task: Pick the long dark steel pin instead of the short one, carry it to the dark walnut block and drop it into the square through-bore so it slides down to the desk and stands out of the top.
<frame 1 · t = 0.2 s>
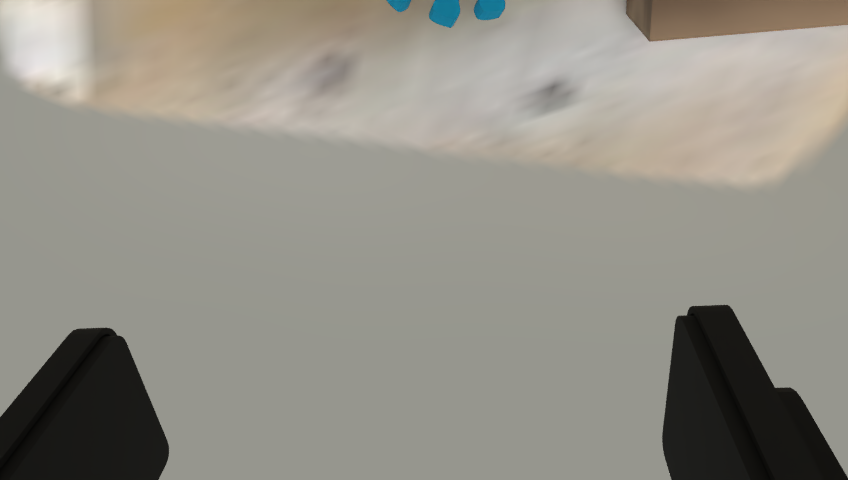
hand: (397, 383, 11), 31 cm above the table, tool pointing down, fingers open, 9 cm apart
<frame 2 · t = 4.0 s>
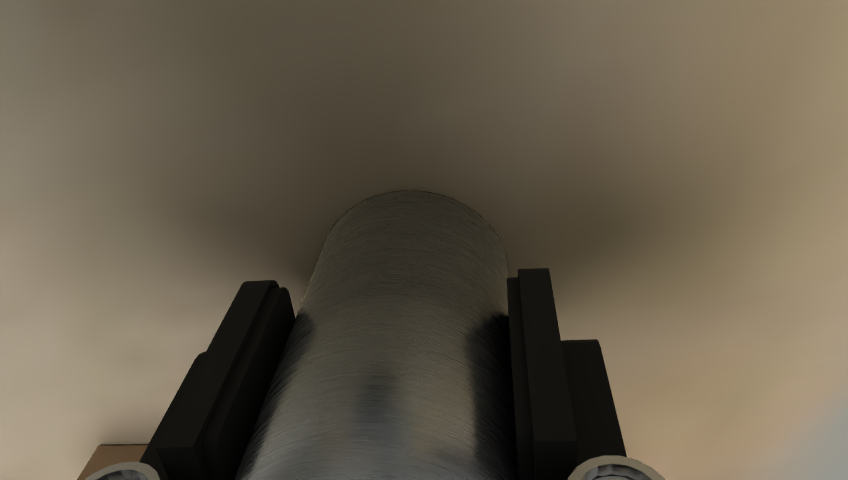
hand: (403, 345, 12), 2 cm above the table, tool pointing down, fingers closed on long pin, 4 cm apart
long pin: (413, 274, 14), on the table, touching gripper
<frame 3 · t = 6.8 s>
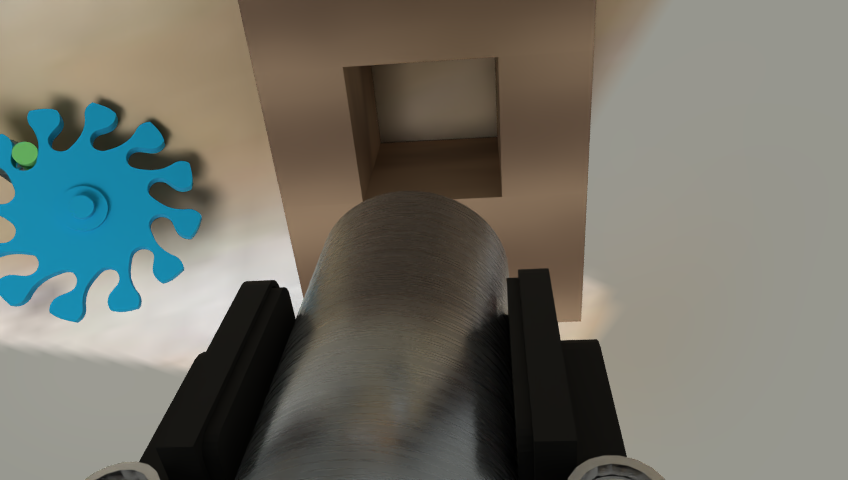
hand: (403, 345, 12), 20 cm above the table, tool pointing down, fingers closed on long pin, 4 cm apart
hole block: (434, 83, 30), on the table
gear: (114, 167, 34), on the table
long pin: (414, 274, 14), point 17 cm above the table, touching gripper
when the fingers open (8 cm above the table, at t = 9.9 s): long pin drops 5 cm, resting in hole block.
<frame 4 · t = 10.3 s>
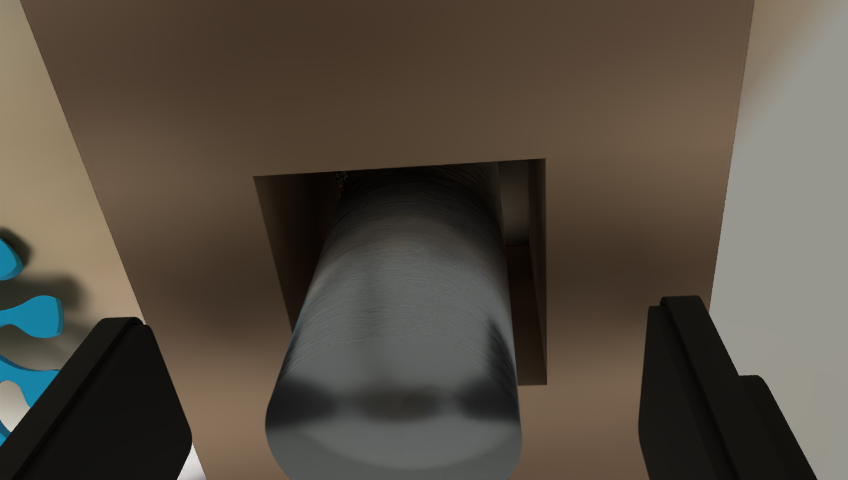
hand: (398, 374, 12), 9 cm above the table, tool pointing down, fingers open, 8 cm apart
hole block: (429, 167, 19), on the table
long pin: (426, 166, 19), resting in hole block
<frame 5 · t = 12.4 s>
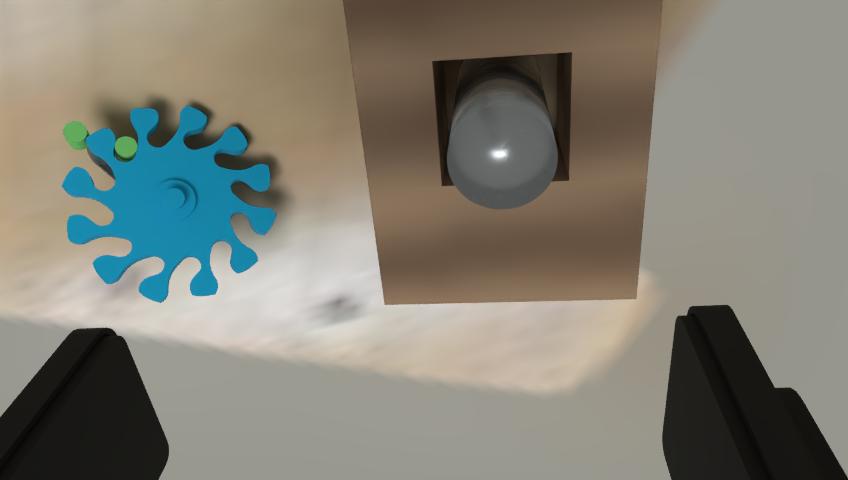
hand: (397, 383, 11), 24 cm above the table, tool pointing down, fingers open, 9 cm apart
hole block: (500, 81, 33), on the table
gear: (194, 165, 37), on the table
long pin: (498, 81, 33), resting in hole block
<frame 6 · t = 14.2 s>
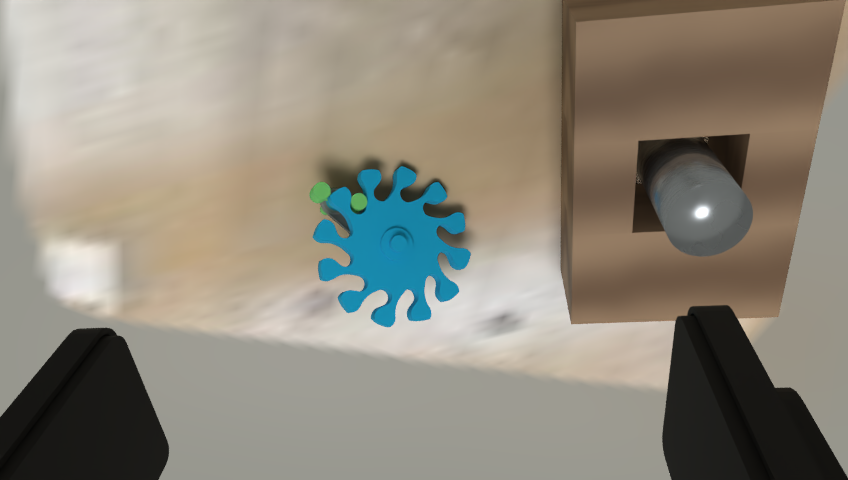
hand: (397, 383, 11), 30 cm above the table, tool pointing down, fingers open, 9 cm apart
hole block: (661, 142, 41), on the table
gear: (393, 210, 45), on the table
long pin: (660, 141, 41), resting in hole block
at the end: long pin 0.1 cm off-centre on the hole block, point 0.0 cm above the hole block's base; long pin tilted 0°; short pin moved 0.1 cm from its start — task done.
